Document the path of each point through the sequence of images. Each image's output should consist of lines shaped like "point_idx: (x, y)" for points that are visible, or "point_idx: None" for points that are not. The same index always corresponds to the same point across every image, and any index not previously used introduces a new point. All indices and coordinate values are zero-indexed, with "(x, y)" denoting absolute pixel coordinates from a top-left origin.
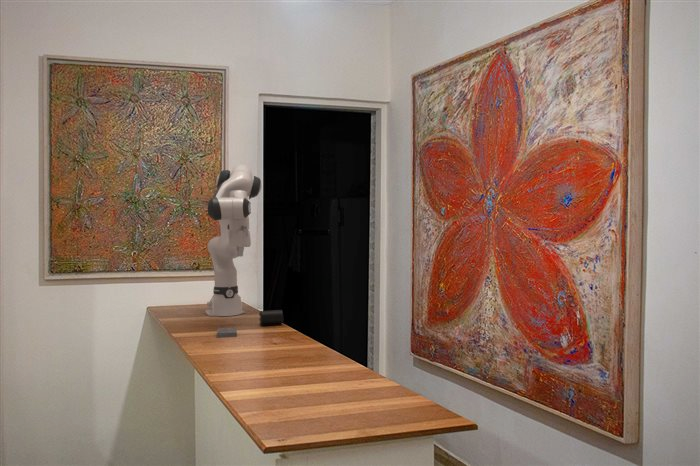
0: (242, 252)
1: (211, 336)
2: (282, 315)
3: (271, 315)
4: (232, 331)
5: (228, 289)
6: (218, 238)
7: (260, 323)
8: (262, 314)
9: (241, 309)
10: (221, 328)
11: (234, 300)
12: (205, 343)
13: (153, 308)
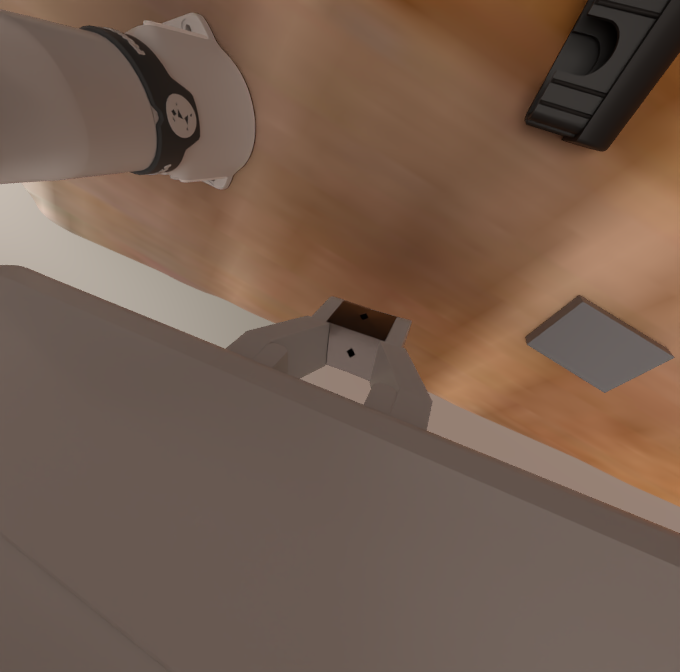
0: (403, 356)
1: (562, 378)
2: None
3: (657, 80)
4: (635, 352)
5: (168, 123)
6: None
7: (566, 141)
8: (609, 143)
9: (202, 37)
10: (539, 337)
11: (198, 87)
12: (643, 443)
13: (86, 234)
